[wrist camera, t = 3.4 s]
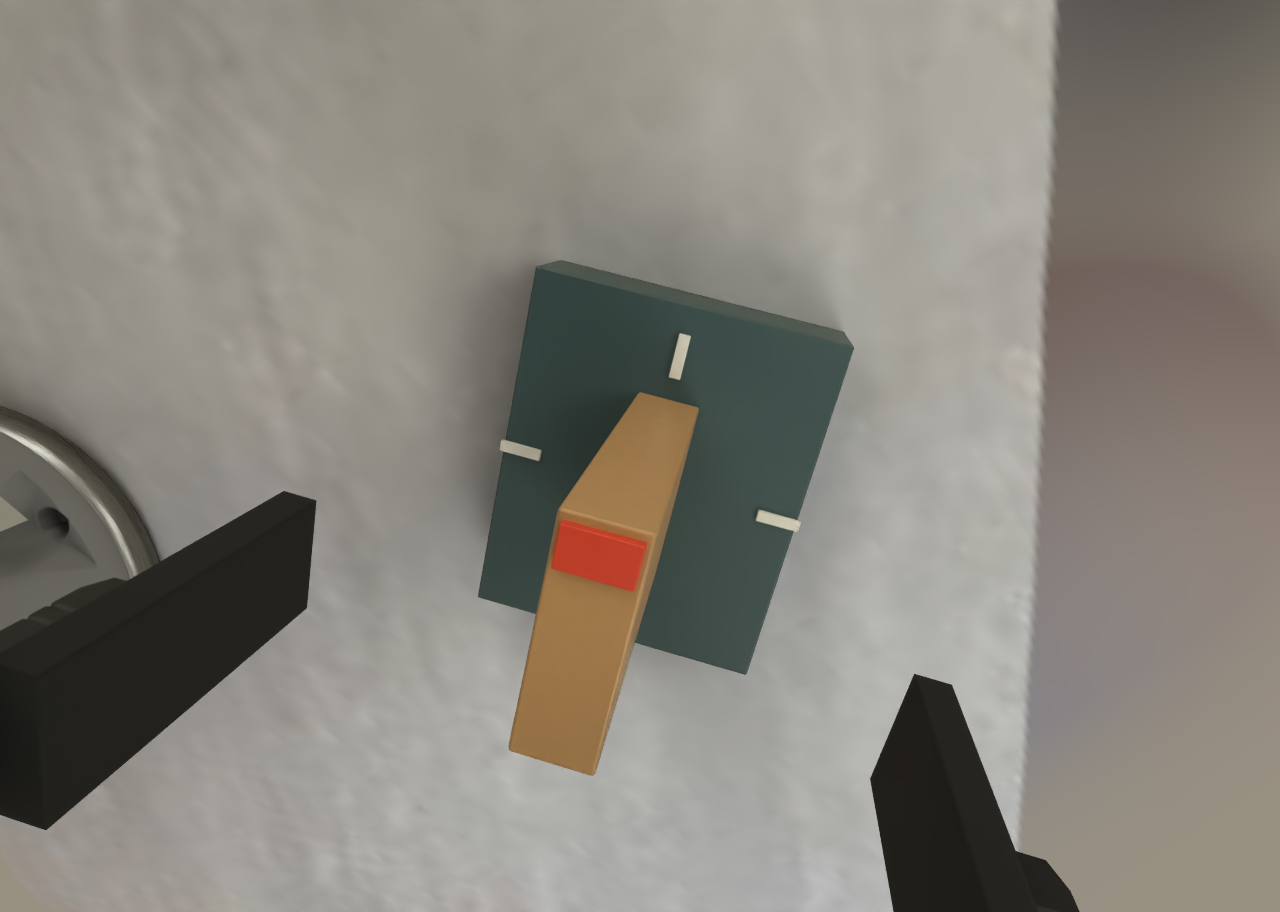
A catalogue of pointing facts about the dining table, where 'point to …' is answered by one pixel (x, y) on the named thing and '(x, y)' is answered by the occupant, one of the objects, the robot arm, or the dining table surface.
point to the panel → (716, 460)
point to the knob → (600, 584)
